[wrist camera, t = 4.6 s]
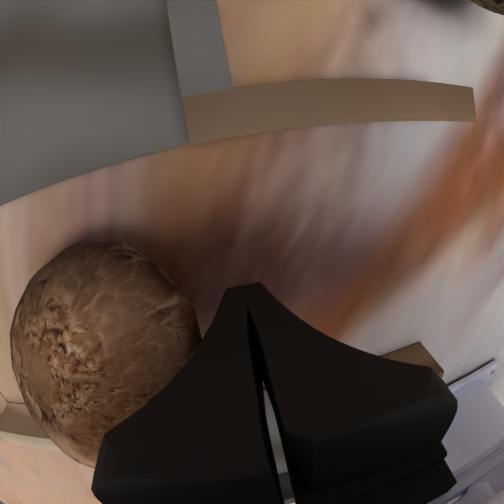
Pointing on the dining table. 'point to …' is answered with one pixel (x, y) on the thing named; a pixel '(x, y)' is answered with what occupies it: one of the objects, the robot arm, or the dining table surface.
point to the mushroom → (97, 342)
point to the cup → (491, 5)
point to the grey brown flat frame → (160, 111)
